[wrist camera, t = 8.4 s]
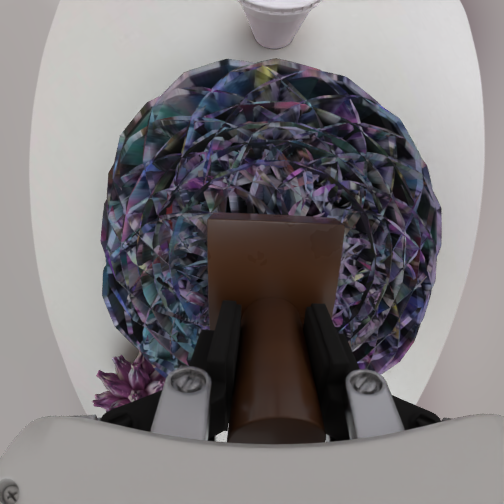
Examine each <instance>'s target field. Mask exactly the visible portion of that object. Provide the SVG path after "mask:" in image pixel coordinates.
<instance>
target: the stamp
mask: <svg viewBox="0 0 504 504" xmlns="http://www.w3.org/2000/svg"><path fill="white" fill-rule="evenodd" d="M344 232H345V225H344V224H343V223H341V222H340V221H338V220H337V219H336V218H327V217H311V216H293V215H273V214H249V213H216V212H214V213H213V214H212V215H211V216H210V217H209V218H208V219H207V262H208V302H209V327H210V330H215V327H216V324H217V320H218V316H219V313H220V309H221V305H222V302H223V300H228V301H236V303H237V304H239V305H241V332H240V341H239V349H238V357H237V366H236V374H235V383H234V391H233V396H232V403H231V411H230V419H229V428H228V436H227V443H242V444H308V443H323V442H325V440H326V432H325V427H324V422H323V417H322V413H321V408H320V403H319V398H318V394H317V389H316V384H315V380H314V375H313V371H312V366H311V362H310V358H309V353H308V349H307V344H306V340H305V336H304V332H303V325H304V318H305V310H306V307H310V306H311V304H312V303H317V304H325V305H326V307H327V309H328V312H329V314H330V316H331V319H332V315H333V309H334V304H335V298H336V292H337V285H338V279H339V272H340V265H341V257H342V249H343V241H344Z"/></svg>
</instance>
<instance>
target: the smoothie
mask: <svg viewBox="0 0 504 504" xmlns="http://www.w3.org/2000/svg"><path fill="white" fill-rule="evenodd" d="M237 1H238V2H239V3H241V5H242V7H243V10H244V12H245V15H246V17H247V20H248V22H249V25H250V27H251V30H252V32H253V35H254V37H255V39H256V41H257V42H258V43H259V44H260V45H262V46H264V47H266V48H271V49H278V48H283V47H285V46H287V45H288V44H289V43H290V42H291V41H292V39H293V38H294V36H295V34H296V33H297V31H298V29H299V28H300V26H301V24H302V23H303V21H304V20H305V18H306V16H307V15H308V13H309V12H310V11H311V9H313V8H315V7H316V6H317V5H318V4H319V3H320V2H321V1H322V0H237Z"/></svg>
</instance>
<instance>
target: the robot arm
mask: <svg viewBox="0 0 504 504" xmlns="http://www.w3.org/2000/svg"><path fill="white" fill-rule="evenodd" d="M240 332H241V305H239V304H237V303H236V301H228V300H223V302H222V305H221V309H220V313H219V316H218V320H217V324H216V327H215V330H204V329H202V330H201V332H200V334H199V337H198V340H197V343H196V346H195V349H194V352H193V355H192V358H191V361H190V364H189V366H184V367H180V368H177V369H175V370H173V371H172V372H170V373H169V374H168V376H167V378H166V380H165V383H164V387H163V390H160V391H158V392H155V393H153V394H151V395H148V396H146V397H143V398H141V399H138V400H135V401H133V402H130V403H128V404H125V405H122V406H120V407H117V408H114V409H112V410H110V411H108V412H106V413H105V414H104V415H103V416H102V418H97V416H96V415H83V416H48V417H43V418H39V419H36V420H34V421H32V422H31V423H30V424H28V425H27V426H26V427H25V428H24V429H23V430H22V431H21V432H20V433H19V434H18V435H17V436H16V437H15V439H14V440H13V441H12V442H11V444H10V445H9V446H8V448H7V449H6V451H5V452H4V453H3V455H2V456H1V458H0V504H504V416H501V415H494V414H477V415H469V416H463V417H458V418H454V419H450V418H443V420H442V421H441V420H440V418H439V417H438V416H437V415H436V414H434V413H432V412H430V411H428V410H425V409H423V408H420V407H418V406H416V405H413V404H411V403H409V402H406V401H404V400H402V399H400V398H397V397H395V396H393V395H391V392H390V390H389V387H388V385H387V382H386V380H385V379H384V377H383V376H381V375H380V374H379V373H377V372H375V371H372V370H368V369H360V368H359V366H358V363H357V361H356V359H355V356H354V354H353V352H352V350H351V347H350V345H349V343H348V341H347V338H346V336H345V335H344V334H343V333H337V331H336V328H335V326H334V323H333V321H332V319H331V316H330V314H329V312H328V309H327V307H326V305H325V304H317V303H312V304H311V306H310V307H306V310H305V318H304V325H303V332H304V336H305V340H306V344H307V349H308V353H309V358H310V362H311V366H312V371H313V375H314V380H315V384H316V389H317V394H318V398H319V403H320V408H321V413H322V417H323V422H324V427H325V432H326V442H323V443H308V444H242V443H227V442H216V435H217V434H219V433H221V432H223V431H228V423H229V419H230V411H231V403H232V396H233V391H234V383H235V374H236V366H237V357H238V349H239V341H240Z"/></svg>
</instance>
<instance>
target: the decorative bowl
mask: <svg viewBox="0 0 504 504" xmlns="http://www.w3.org/2000/svg"><path fill="white" fill-rule="evenodd" d="M214 212H216V213H249V214H273V215H293V216H311V217H327V218H336V219H337V220H338V221H340V222H341V223H343V224H344V225H345V232H344V241H343V249H342V257H341V265H340V272H339V279H338V285H337V292H336V298H335V304H334V309H333V315H332V321H333V323H334V326H335V328H336V331H337V333H343V334H344V335H345V336H346V338H347V341H348V343H349V345H350V347H351V350H352V352H353V354H354V356H355V359H356V361H357V363H358V366H359V368H360V369H368V370H372V371H375V372H377V373H379V374H380V375H381V374H382V373H384V372H385V371H387V370H388V369H390V368H391V367H393V366H394V365H396V364H397V363H398V362H400V361H401V359H402V358H403V357H404V355H405V354H406V352H407V351H408V350H409V348H410V347H411V345H412V344H413V342H414V341H415V338H416V335H417V333H418V330H419V327H420V324H421V322H422V320H423V318H424V315H425V312H426V309H427V305H428V302H429V299H430V295H431V290H432V287H433V285H434V283H435V279H436V261H437V255H438V253H439V250H440V248H441V235H442V222H441V206H440V204H439V202H438V200H437V198H436V196H435V194H434V192H433V189H432V185H431V180H430V176H429V172H428V168H427V165H426V164H425V162H424V161H423V160H422V158H421V157H420V154H419V152H418V150H417V148H416V146H415V144H414V143H413V141H412V139H411V137H410V135H409V134H408V132H407V130H406V128H405V127H404V125H403V123H402V122H401V120H400V119H399V118H398V117H396V116H395V115H394V114H392V113H391V112H389V111H388V110H386V109H385V108H383V107H382V106H381V105H380V104H379V103H378V102H377V101H376V100H375V99H373V98H372V97H371V96H370V95H369V94H367V93H366V92H365V91H364V90H363V89H361V88H360V87H359V86H358V85H356V84H355V83H354V82H352V81H351V80H350V79H348V78H347V77H345V76H341V75H337V74H332V73H328V72H323V71H321V70H319V69H316V68H312V67H309V66H305V65H302V64H298V63H294V62H290V61H286V60H282V59H277V58H275V59H270V60H266V61H261V62H257V63H253V62H247V61H240V60H232V59H225V60H221V61H218V62H214V63H211V64H208V65H205V66H202V67H199V68H196V69H193V70H190V71H187V72H184V73H183V74H182V75H181V76H180V77H179V78H178V79H177V80H176V81H175V82H174V83H173V84H172V85H171V86H170V87H169V88H168V89H167V90H166V91H165V92H164V93H163V94H162V95H161V96H159V97H157V98H155V99H153V100H151V101H149V102H147V103H146V104H145V105H144V107H143V108H142V109H141V110H140V111H139V112H138V114H137V115H136V116H135V117H134V119H133V120H132V121H131V122H130V124H129V125H128V126H127V127H126V129H125V130H124V131H123V133H122V134H121V135H120V139H119V143H118V148H117V152H116V157H115V162H114V164H113V166H112V168H111V170H110V171H109V173H108V187H107V200H106V202H105V203H104V211H103V221H102V231H101V244H102V247H103V250H104V252H105V256H106V266H105V268H104V270H103V288H102V296H103V299H104V301H105V304H106V306H107V309H108V311H109V314H110V316H111V319H112V321H113V323H114V326H115V327H116V328H117V329H118V330H119V331H120V332H121V333H122V334H123V335H124V336H125V337H126V338H127V339H128V340H129V341H130V342H131V343H132V344H133V345H134V346H135V347H136V348H137V349H138V350H140V352H141V353H142V354H143V356H144V357H145V359H146V360H147V361H148V362H149V363H151V364H152V366H153V368H154V369H155V370H156V371H157V372H159V373H160V374H161V375H162V376H163V377H164V378H167V376H168V374H169V373H170V372H172V371H173V370H175V369H177V368H180V367H184V366H189V364H190V361H191V358H192V355H193V352H194V349H195V346H196V343H197V340H198V337H199V334H200V332H201V330H202V329H204V330H210V327H209V302H208V262H207V219H208V218H209V217H210V216H211V215H212V214H213V213H214Z"/></svg>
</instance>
